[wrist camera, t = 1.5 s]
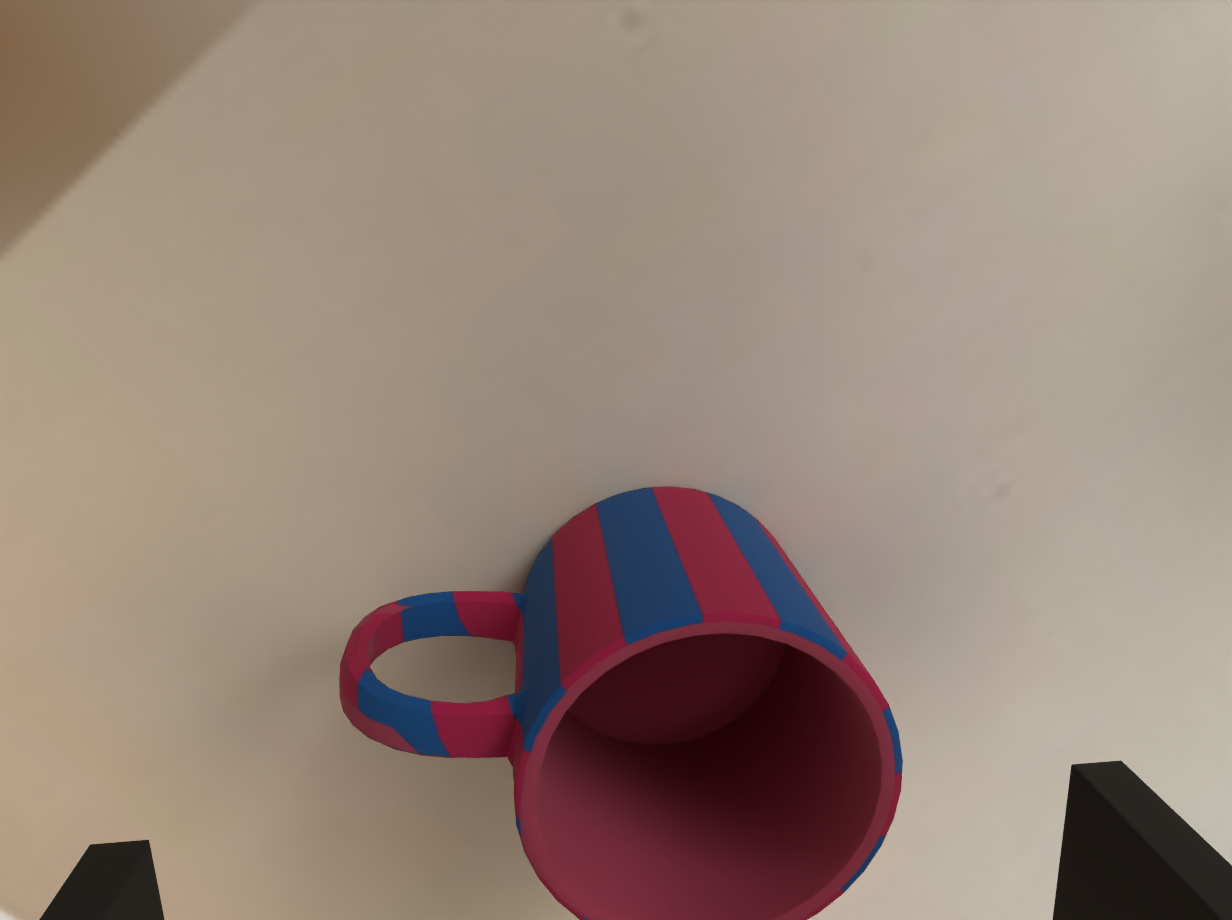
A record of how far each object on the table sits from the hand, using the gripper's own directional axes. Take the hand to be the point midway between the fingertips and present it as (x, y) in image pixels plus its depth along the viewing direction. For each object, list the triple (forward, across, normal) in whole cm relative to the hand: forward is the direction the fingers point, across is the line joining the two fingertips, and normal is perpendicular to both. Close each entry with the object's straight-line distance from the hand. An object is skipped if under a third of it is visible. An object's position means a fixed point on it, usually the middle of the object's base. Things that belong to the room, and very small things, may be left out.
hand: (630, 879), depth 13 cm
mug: (+9, 0, 0) cm, 9 cm away
